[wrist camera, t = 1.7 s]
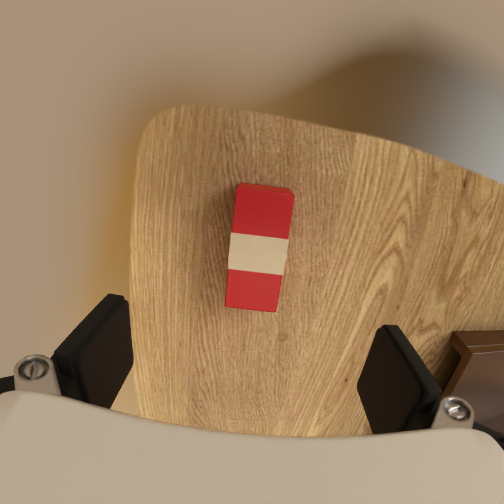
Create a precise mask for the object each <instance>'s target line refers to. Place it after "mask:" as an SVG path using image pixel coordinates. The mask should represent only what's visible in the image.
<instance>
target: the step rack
mask: <svg viewBox="0 0 504 504" xmlns="http://www.w3.org/2000/svg"><path fill="white" fill-rule="evenodd" d="M449 342H450V343H451V344H452V346H453V347H454V348H455V349H456V350H457V352H458V353H459V354H460V355H461V357H462V358H461V360H460V362H459V364H458V366H457V368H456V370H455V372H454V374H453V376H452V377H451V379H450V381H449V383H448V385H447V387H446V388H445V390H444V392H443V394H442V395H441V398H442V399H443V398H445V397H448V396H456V397H460V398H462V399H464V400H466V401H467V402H468V403H469V404H470V405H471V406H472V408H473V410H474V421H475V422H477V423H479V424H481V425H484V426H486V427H488V428H490V429H493V430H495V431H497V432H500V433H502V434H504V330H501V331H453V333H452V336H451V338H450V340H449Z"/></svg>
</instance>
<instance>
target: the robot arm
mask: <svg viewBox="0 0 504 504" xmlns="http://www.w3.org/2000/svg"><path fill="white" fill-rule="evenodd" d="M133 360H134V358H133V349H132V339H131V328H130V315H129V303H128V301H127V300H125V299H124V297H123V296H121V295H115V294H108V295H107V296H106V297H105V298H104V299H103V300H102V301H101V302H100V303H99V304H98V305H97V306H96V307H95V308H94V309H93V310H92V311H91V312H90V313H89V314H88V315H87V316H86V318H85V319H84V320H83V321H82V322H81V323H80V324H79V325H78V326H77V327H76V328H75V329H74V330H73V332H72V333H71V334H70V335H69V336H68V337H67V338H66V339H65V340H64V341H63V343H61V345H60V346H59V347H58V348H57V349H56V350H55V351H54V354H53V356H52V357H51V358H50V359H49V358H48V357H46V356H44V355H29V356H26V357H24V358H22V359H21V360H19V361H18V362H17V364H16V365H15V367H14V375H13V376H9V377H4V378H0V504H504V434H502V433H500V432H497V431H495V430H493V429H490V428H488V427H486V426H484V425H481V424H479V423H477V422H475V421H474V410H473V408H472V406H471V405H470V404H469V403H468V402H467V401H466V400H464V399H462V398H460V397H456V396H448V397H445V398H443V399H442V398H441V396H440V394H441V393H442V389H441V388H440V386H439V385H438V383H437V382H436V380H435V379H434V377H433V376H432V374H431V373H430V371H429V370H428V368H427V367H426V365H425V364H424V362H423V361H422V359H421V358H420V356H419V355H418V354H417V352H416V351H415V349H414V348H413V346H412V345H411V343H410V342H409V341H408V339H407V338H406V336H405V335H404V334H403V332H402V331H401V329H400V328H399V327H398V326H397V325H383V326H382V327H381V328H379V329H377V331H376V334H375V337H374V340H373V343H372V345H371V348H370V351H369V354H368V357H367V359H366V362H365V365H364V367H363V370H362V372H361V375H360V377H359V380H358V383H357V390H358V393H359V396H360V399H361V401H362V404H363V407H364V410H365V413H366V416H367V418H368V421H369V424H370V427H371V430H372V433H373V435H358V436H332V437H301V436H273V435H258V434H245V433H235V432H226V431H218V430H210V429H203V428H196V427H190V426H184V425H178V424H172V423H167V422H162V421H157V420H152V419H148V418H143V417H139V416H135V415H130V414H126V413H122V412H119V411H115V410H111V409H110V408H111V406H112V404H113V402H114V400H115V398H116V396H117V394H118V392H119V390H120V389H121V387H122V385H123V383H124V381H125V379H126V377H127V375H128V373H129V372H130V370H131V368H132V366H133Z"/></svg>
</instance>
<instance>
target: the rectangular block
mask: <svg viewBox="0 0 504 504" xmlns="http://www.w3.org/2000/svg"><path fill="white" fill-rule="evenodd" d="M293 203H294V194H293V193H292V191H291V190H290V189H288V188H280V187H273V186H265V185H256V184H248V183H240V184H239V185H238V187H237V188H236V196H235V205H234V215H233V224H232V231H231V235H230V245H229V255H228V266H227V268H228V275H227V286H226V296H225V307H232V308H240V309H248V310H257V311H266V312H276V310H277V304H278V298H279V292H280V286H281V280H282V275H283V274H284V268H285V262H286V255H287V249H288V243H289V239H288V236H289V230H290V223H291V217H292V210H293Z"/></svg>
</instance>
